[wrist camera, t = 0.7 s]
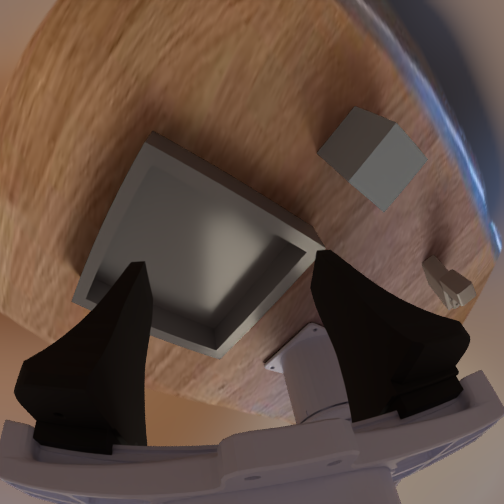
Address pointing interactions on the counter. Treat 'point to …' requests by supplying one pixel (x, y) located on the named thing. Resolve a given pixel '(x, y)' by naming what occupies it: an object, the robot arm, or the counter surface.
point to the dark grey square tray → (197, 248)
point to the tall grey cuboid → (373, 156)
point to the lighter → (448, 284)
